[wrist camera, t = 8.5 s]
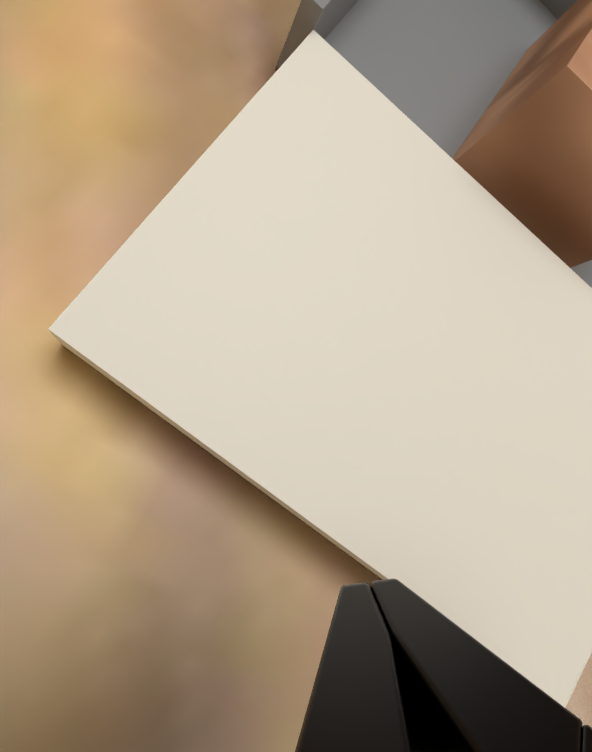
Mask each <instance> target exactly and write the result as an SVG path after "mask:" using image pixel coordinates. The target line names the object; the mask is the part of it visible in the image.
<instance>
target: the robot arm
mask: <svg viewBox="0 0 592 752" xmlns="http://www.w3.org/2000/svg"><path fill="white" fill-rule="evenodd" d="M295 752H592V728H591V727H590V726H589V725H584V726H583V727H582V721H581V720H580V719H579V718H578V717H576V716H575V715H574V714H573V713H571V712H570V711H569V710H567V709H566V708H565V707H563V706H562V705H561V704H559V703H558V702H557V701H556V700H554V699H553V698H552V697H550V696H549V695H548V694H546V693H545V692H544V691H543V690H541V689H540V688H539V687H537V686H536V685H535V684H533V683H532V682H531V681H529V680H528V679H527V678H526V677H524V676H523V675H522V674H520V673H519V672H518V671H516V670H515V669H514V668H512V667H511V666H510V665H509V664H507V663H506V662H505V661H503V660H502V659H501V658H499V657H498V656H497V655H496V654H494V653H493V652H492V651H490V650H489V649H488V648H486V647H485V646H484V645H482V644H481V643H480V642H479V641H477V640H476V639H475V638H473V637H472V636H471V635H469V634H468V633H467V632H465V631H464V630H463V629H462V628H460V627H459V626H458V625H456V624H455V623H454V622H452V621H451V620H450V619H448V618H447V617H446V616H445V615H443V614H442V613H441V612H439V611H438V610H437V609H435V608H434V607H433V606H432V605H430V604H429V603H428V602H426V601H425V600H424V599H422V598H421V597H420V596H418V595H417V594H416V593H415V592H413V591H412V590H411V589H409V588H408V587H407V586H405V585H404V584H403V583H401V582H400V581H399V580H397V579H385V580H378V581H373V582H371V583H370V586H369V585H368V584H367V583H357V584H350V585H344V586H343V587H342V588H341V590H340V593H339V596H338V600H337V604H336V607H335V611H334V614H333V618H332V621H331V625H330V629H329V632H328V636H327V639H326V643H325V646H324V650H323V654H322V657H321V661H320V664H319V668H318V671H317V675H316V679H315V682H314V686H313V689H312V693H311V697H310V700H309V704H308V707H307V711H306V714H305V718H304V722H303V725H302V729H301V732H300V736H299V739H298V743H297V747H296V750H295Z"/></svg>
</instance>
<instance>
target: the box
mask: <svg viewBox="0 0 592 752" xmlns="http://www.w3.org/2000/svg"><path fill="white" fill-rule="evenodd" d="M576 1H577V0H302V1H301V3H300V6H299V8H298V11H297V14H296V16H295V19H294V22H293V24H292V27H291V29H290V32H289V35H288V37H287V40H286V42H285V45H284V48H283V50H282V53H281V56H280V58H279V61H278V63H277V66H276V68H277V69H279V68H280V67H281V66H282V64H283V63H284V62H285V61H286V60H287V59H288V58H289V57H290V55H291V54H292V53H293V52H294V51H295V50H296V49H297V48H298V46H299V45H300V44H301V43H302V42H303V41H304V40H305V38H306V37H307V36H308V35H309V34H310V33H311V32H312V31H313V30H314V31H315V32H317V33H318V34H319V35H320V36H321V37H322V38H323V39H324V40H325V41H326V42H327V43H328V44H329V45H331V46H332V47H333V48H334V49H335V50H336V51H337V52H338V53H339V54H340V55H341V56H342V57H343V58H345V59H346V60H347V61H348V62H349V63H350V64H351V65H352V66H353V67H354V68H355V69H356V70H357V71H359V72H360V73H361V74H362V75H363V76H364V77H365V78H366V79H367V80H368V81H369V82H370V83H371V84H372V85H374V86H375V87H376V88H377V89H378V90H379V91H380V92H381V93H382V94H383V95H384V96H385V97H386V98H388V99H389V100H390V101H391V102H392V103H393V104H394V105H395V106H396V107H397V108H398V109H399V110H400V111H402V112H403V113H404V114H405V115H406V116H407V117H408V118H409V119H410V120H411V121H412V122H413V123H414V124H416V125H417V126H418V127H419V128H420V129H421V130H422V131H423V132H424V133H425V134H426V135H427V136H428V137H430V138H431V139H432V140H433V141H434V142H435V143H436V144H437V145H438V146H439V147H440V148H441V149H442V150H444V151H445V152H446V153H447V154H448V155H449V156H450V157H451V158H453V157H454V155H455V154H456V152H457V151H458V149H459V148H460V146H461V145H462V144H463V142H464V141H465V139H466V138H467V136H468V135H469V133H470V132H471V131H472V129H473V128H474V126H475V125H476V123H477V122H478V120H479V119H480V118H481V116H482V115H483V113H484V112H485V110H486V109H487V107H488V106H489V105H490V103H491V102H492V100H493V99H494V97H495V96H496V94H497V93H498V92H499V90H500V89H501V87H502V86H503V84H504V83H505V81H506V80H507V78H508V77H509V76H510V74H511V73H512V71H513V70H514V68H515V67H516V65H517V64H518V63H519V61H520V60H521V58H522V57H523V55H524V54H525V52H526V51H527V50H528V48H529V47H530V46H531V45H532V44H533V43H534V42H535V41H536V40H537V39H538V38H539V37H540V36H542V35H543V34H544V33H545V32H546V31H547V30H548V29H549V28H550V27H551V26H552V25H553V24H554V23H555V22H556V21H557V20H558V19H559V18H560V17H561V16H562V15H563V14H564V13H565V12H566V11H567V10H568V9H569V8H570V7H571V6H572V5H573V4H574V3H575V2H576ZM571 269H572V270H573V271H574V272H575V273H576V274H577V275H578V276H579V277H580V278H581V279H582V280H583V281H585V282H586V283H587V284H588V285H589V286H590V287H591V288H592V260H590V261H587V262H584V263H582V264H579V265H576V266H574V267H571Z"/></svg>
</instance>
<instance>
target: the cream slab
mask: <svg viewBox="0 0 592 752" xmlns="http://www.w3.org/2000/svg"><path fill="white" fill-rule="evenodd" d="M48 330H49V331H50V332H51V333H52V334H53V335H54V336H55V338H56V339H57V340H58V341H59V342H60V343H61V344H62V345H63V346H64V347H66V348H67V349H69V350H70V351H71V352H73V353H74V354H75V355H77V356H78V357H79V358H81V359H82V360H84V361H85V362H86V363H88V364H89V365H90V366H92V367H93V368H94V369H96V370H97V371H99V372H100V373H101V374H103V375H104V376H105V377H107V378H108V379H109V380H111V381H112V382H114V383H115V384H116V385H118V386H119V387H120V388H122V389H123V390H124V391H126V392H127V393H129V394H130V395H131V396H133V397H134V398H135V399H137V400H138V401H139V402H141V403H142V404H144V405H145V406H146V407H148V408H149V409H150V410H152V411H153V412H154V413H156V414H157V415H159V416H160V417H161V418H163V419H164V420H165V421H167V422H168V423H169V424H171V425H172V426H174V427H175V428H176V429H178V430H179V431H180V432H182V433H183V434H185V435H186V436H187V437H189V438H190V439H191V440H193V441H194V442H195V443H197V444H198V445H200V446H201V447H202V448H204V449H205V450H206V451H208V452H209V453H210V454H212V455H213V456H215V457H216V458H217V459H219V460H220V461H221V462H223V463H224V464H225V465H227V466H228V467H230V468H231V469H232V470H234V471H235V472H236V473H238V474H239V475H240V476H242V477H243V478H245V479H246V480H247V481H249V482H250V483H251V484H253V485H254V486H255V487H257V488H258V489H260V490H261V491H262V492H264V493H265V494H266V495H268V496H269V497H270V498H272V499H273V500H275V501H276V502H277V503H279V504H280V505H281V506H283V507H284V508H285V509H287V510H288V511H290V512H291V513H292V514H294V515H295V516H296V517H298V518H299V519H300V520H302V521H303V522H305V523H306V524H307V525H309V526H310V527H311V528H313V529H314V530H316V531H317V532H318V533H320V534H321V535H322V536H324V537H325V538H326V539H328V540H329V541H331V542H332V543H333V544H335V545H336V546H337V547H339V548H340V549H341V550H343V551H344V552H346V553H347V554H348V555H350V556H351V557H352V558H354V559H355V560H356V561H358V562H359V563H361V564H362V565H363V566H365V567H366V568H367V569H369V570H370V571H371V572H373V573H374V574H376V575H377V576H378V577H380V578H381V579H382V580H385V579H397V580H399V581H400V582H401V583H403V584H404V585H405V586H407V587H408V588H409V589H411V590H412V591H413V592H415V593H416V594H417V595H418V596H420V597H421V598H422V599H424V600H425V601H426V602H428V603H429V604H430V605H432V606H433V607H434V608H435V609H437V610H438V611H439V612H441V613H442V614H443V615H445V616H446V617H447V618H448V619H450V620H451V621H452V622H454V623H455V624H456V625H458V626H459V627H460V628H462V629H463V630H464V631H465V632H467V633H468V634H469V635H471V636H472V637H473V638H475V639H476V640H477V641H479V642H480V643H481V644H482V645H484V646H485V647H486V648H488V649H489V650H490V651H492V652H493V653H494V654H496V655H497V656H498V657H499V658H501V659H502V660H503V661H505V662H506V663H507V664H509V665H510V666H511V667H512V668H514V669H515V670H516V671H518V672H519V673H520V674H522V675H523V676H524V677H526V678H527V679H528V680H529V681H531V682H532V683H533V684H535V685H536V686H537V687H539V688H540V689H541V690H543V691H544V692H545V693H546V694H548V695H549V696H550V697H552V698H553V699H554V700H556V701H557V702H558V703H559V704H561V705H562V706H563V707H566V705H567V703H568V701H569V699H570V696H571V694H572V692H573V690H574V688H575V686H576V684H577V682H578V680H579V678H580V676H581V673H582V671H583V669H584V667H585V665H586V663H587V661H588V659H589V657H590V655H591V653H592V288H591V287H590V286H589V285H588V284H587V283H586V282H585V281H583V280H582V279H581V278H580V277H579V276H578V275H577V274H576V273H575V272H574V271H573V270H572V269H571V268H569V267H568V266H567V265H566V264H565V263H564V262H563V261H562V260H561V259H560V258H559V257H558V256H557V255H555V254H554V253H553V252H552V251H551V250H550V249H549V248H548V247H547V246H546V245H545V244H544V243H543V242H541V241H540V240H539V239H538V238H537V237H536V236H535V235H534V234H533V233H532V232H531V231H530V230H529V229H527V228H526V227H525V226H524V225H523V224H522V223H521V222H520V221H519V220H518V219H517V218H516V217H515V216H513V215H512V214H511V213H510V212H509V211H508V210H507V209H506V208H505V207H504V206H503V205H502V204H501V203H499V202H498V201H497V200H496V199H495V198H494V197H493V196H492V195H491V194H490V193H489V192H488V191H487V190H486V189H484V188H483V187H482V186H481V185H480V184H479V183H478V182H477V181H476V180H475V179H474V178H473V177H472V176H470V175H469V174H468V173H467V172H466V171H465V170H464V169H463V168H462V167H461V166H460V165H459V164H458V163H456V162H455V161H454V160H453V159H452V158H451V157H450V156H449V155H448V154H447V153H446V152H445V151H444V150H442V149H441V148H440V147H439V146H438V145H437V144H436V143H435V142H434V141H433V140H432V139H431V138H430V137H428V136H427V135H426V134H425V133H424V132H423V131H422V130H421V129H420V128H419V127H418V126H417V125H416V124H414V123H413V122H412V121H411V120H410V119H409V118H408V117H407V116H406V115H405V114H404V113H403V112H402V111H400V110H399V109H398V108H397V107H396V106H395V105H394V104H393V103H392V102H391V101H390V100H389V99H388V98H386V97H385V96H384V95H383V94H382V93H381V92H380V91H379V90H378V89H377V88H376V87H375V86H374V85H372V84H371V83H370V82H369V81H368V80H367V79H366V78H365V77H364V76H363V75H362V74H361V73H360V72H359V71H357V70H356V69H355V68H354V67H353V66H352V65H351V64H350V63H349V62H348V61H347V60H346V59H345V58H343V57H342V56H341V55H340V54H339V53H338V52H337V51H336V50H335V49H334V48H333V47H332V46H331V45H329V44H328V43H327V42H326V41H325V40H324V39H323V38H322V37H321V36H320V35H319V34H318V33H317V32H315V31H314V30H313V31H312V32H311V33H310V34H309V35H308V36H307V37H306V38H305V40H304V41H303V42H302V43H301V44H300V45H299V46H298V48H297V49H296V50H295V51H294V52H293V53H292V54H291V55H290V57H289V58H288V59H287V60H286V61H285V62H284V63H283V64H282V66H281V67H280V68H279V69H278V70H277V71H276V72H275V73H274V75H273V76H272V77H271V78H270V79H269V80H268V81H267V83H266V84H265V85H264V86H263V87H262V88H261V89H260V90H259V92H258V93H257V94H256V95H255V96H254V97H253V98H252V99H251V101H250V102H249V103H248V104H247V105H246V106H245V107H244V108H243V110H242V111H241V112H240V113H239V114H238V115H237V116H236V117H235V119H234V120H233V121H232V122H231V123H230V124H229V125H228V127H227V128H226V129H225V130H224V131H223V132H222V133H221V134H220V136H219V137H218V138H217V139H216V140H215V141H214V142H213V143H212V145H211V146H210V147H209V148H208V149H207V150H206V151H205V152H204V154H203V155H202V156H201V157H200V158H199V159H198V160H197V162H196V163H195V164H194V165H193V166H192V167H191V168H190V169H189V171H188V172H187V173H186V174H185V175H184V176H183V177H182V178H181V180H180V181H179V182H178V183H177V184H176V185H175V186H174V187H173V189H172V190H171V191H170V192H169V193H168V194H167V195H166V196H165V198H164V199H163V200H162V201H161V202H160V203H159V204H158V206H157V207H156V208H155V209H154V210H153V211H152V212H151V213H150V215H149V216H148V217H147V218H146V219H145V220H144V221H143V222H142V224H141V225H140V226H139V227H138V228H137V229H136V230H135V231H134V233H133V234H132V235H131V236H130V237H129V238H128V239H127V241H126V242H125V243H124V244H123V245H122V246H121V247H120V248H119V250H118V251H117V252H116V253H115V254H114V255H113V256H112V257H111V259H110V260H109V261H108V262H107V263H106V264H105V265H104V266H103V268H102V269H101V270H100V271H99V272H98V273H97V274H96V276H95V277H94V278H93V279H92V280H91V281H90V282H89V283H88V285H87V286H86V287H85V288H84V289H83V290H82V291H81V292H80V294H79V295H78V296H77V297H76V298H75V299H74V300H73V301H72V303H71V304H70V305H69V306H68V307H67V308H66V309H65V310H64V312H63V313H62V314H61V315H60V316H59V317H58V318H57V320H56V321H55V322H54V323H53V324H52V325H51V326H50V327H49V329H48Z"/></svg>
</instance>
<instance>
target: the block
mask: <svg viewBox="0 0 592 752" xmlns="http://www.w3.org/2000/svg"><path fill="white" fill-rule="evenodd" d="M452 159H453V160H454V161H455V162H456V163H458V164H459V165H460V166H461V167H462V168H463V169H464V170H465V171H466V172H467V173H468V174H469V175H470V176H472V177H473V178H474V179H475V180H476V181H477V182H478V183H479V184H480V185H481V186H482V187H483V188H484V189H486V190H487V191H488V192H489V193H490V194H491V195H492V196H493V197H494V198H495V199H496V200H497V201H498V202H499V203H501V204H502V205H503V206H504V207H505V208H506V209H507V210H508V211H509V212H510V213H511V214H512V215H513V216H515V217H516V218H517V219H518V220H519V221H520V222H521V223H522V224H523V225H524V226H525V227H526V228H527V229H529V230H530V231H531V232H532V233H533V234H534V235H535V236H536V237H537V238H538V239H539V240H540V241H541V242H543V243H544V244H545V245H546V246H547V247H548V248H549V249H550V250H551V251H552V252H553V253H554V254H555V255H557V256H558V257H559V258H560V259H561V260H562V261H563V262H564V263H565V264H566V265H567V266H568V267H569V268H571V267H574V266H576V265H579V264H582V263H584V262H587V261H590V260H592V0H577V1H576V2H575V3H574V4H573V5H572V6H571V7H570V8H569V9H568V10H567V11H566V12H565V13H564V14H563V15H562V16H561V17H560V18H559V19H558V20H557V21H556V22H555V23H554V24H553V25H552V26H551V27H550V28H549V29H548V30H547V31H546V32H545V33H544V34H543V35H542V36H540V37H539V38H538V39H537V40H536V41H535V42H534V43H533V44H532V45H531V46H530V47H529V48H528V50H527V51H526V52H525V54H524V55H523V57H522V58H521V60H520V61H519V63H518V64H517V65H516V67H515V68H514V70H513V71H512V73H511V74H510V76H509V77H508V78H507V80H506V81H505V83H504V84H503V86H502V87H501V89H500V90H499V92H498V93H497V94H496V96H495V97H494V99H493V100H492V102H491V103H490V105H489V106H488V107H487V109H486V110H485V112H484V113H483V115H482V116H481V118H480V119H479V120H478V122H477V123H476V125H475V126H474V128H473V129H472V131H471V132H470V133H469V135H468V136H467V138H466V139H465V141H464V142H463V144H462V145H461V146H460V148H459V149H458V151H457V152H456V154H455V155H454V157H453V158H452Z"/></svg>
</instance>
